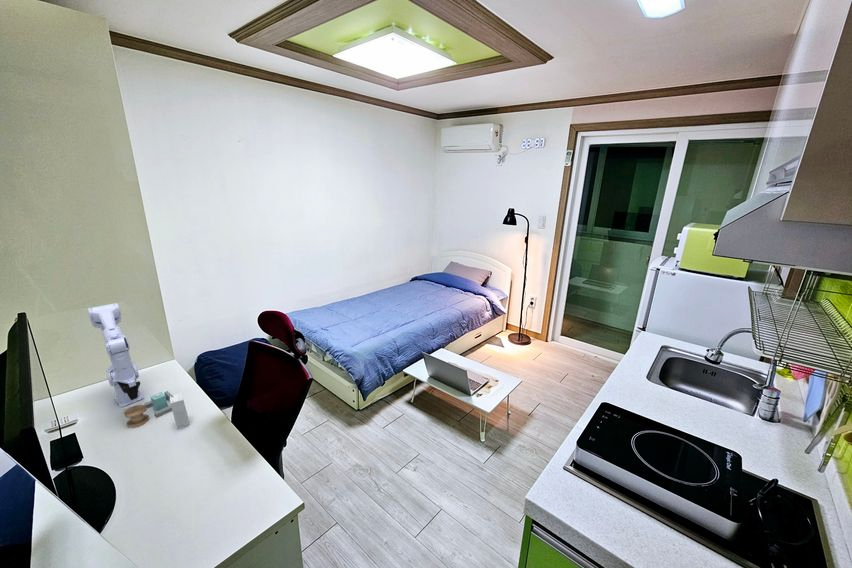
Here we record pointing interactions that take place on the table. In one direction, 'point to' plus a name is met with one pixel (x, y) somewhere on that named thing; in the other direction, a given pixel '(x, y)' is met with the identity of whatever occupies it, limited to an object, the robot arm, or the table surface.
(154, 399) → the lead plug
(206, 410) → the table surface
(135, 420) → the spool
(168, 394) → the gray u-shaped block
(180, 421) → the skincare box
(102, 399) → the table surface
